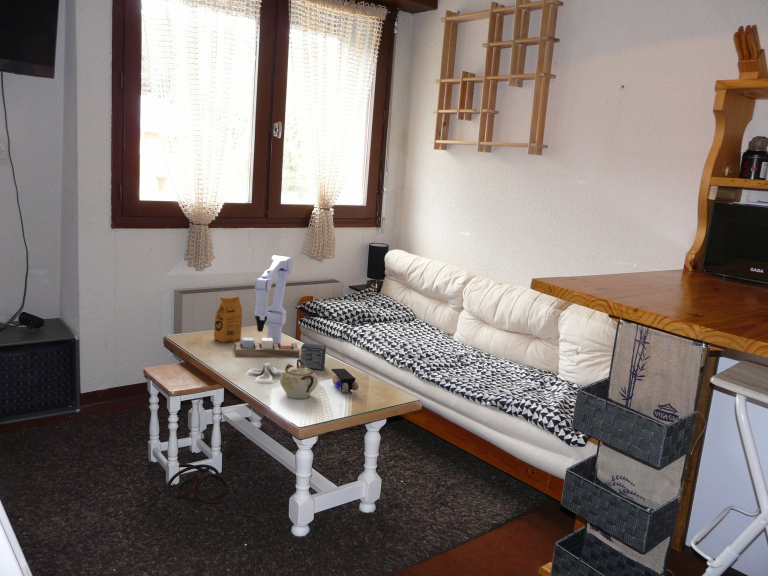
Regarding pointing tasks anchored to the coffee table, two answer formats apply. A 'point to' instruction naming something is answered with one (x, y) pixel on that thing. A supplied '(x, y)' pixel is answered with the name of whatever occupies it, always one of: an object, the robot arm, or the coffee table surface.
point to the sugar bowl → (298, 381)
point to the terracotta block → (285, 346)
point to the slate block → (248, 342)
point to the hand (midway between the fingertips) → (260, 331)
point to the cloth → (265, 374)
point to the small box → (313, 356)
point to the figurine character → (344, 380)
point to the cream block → (267, 343)
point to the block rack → (266, 350)
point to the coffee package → (228, 320)
